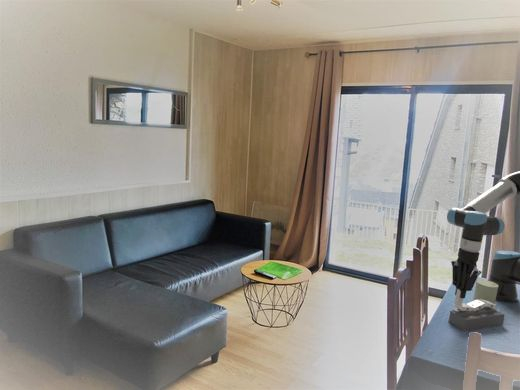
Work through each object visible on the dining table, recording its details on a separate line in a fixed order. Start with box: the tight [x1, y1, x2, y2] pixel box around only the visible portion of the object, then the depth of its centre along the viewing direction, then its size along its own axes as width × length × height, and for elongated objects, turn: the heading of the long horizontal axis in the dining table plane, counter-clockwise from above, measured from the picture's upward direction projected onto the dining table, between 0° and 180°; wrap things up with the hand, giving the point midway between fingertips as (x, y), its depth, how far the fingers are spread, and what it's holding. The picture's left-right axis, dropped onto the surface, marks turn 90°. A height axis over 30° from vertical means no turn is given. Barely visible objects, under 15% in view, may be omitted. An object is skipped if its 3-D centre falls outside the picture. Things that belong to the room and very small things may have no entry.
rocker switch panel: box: [448, 306, 505, 332], centre depth 174 cm, size 22×8×6 cm, turn 112°
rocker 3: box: [479, 299, 498, 310], centre depth 177 cm, size 6×4×2 cm
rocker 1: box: [453, 302, 473, 311], centre depth 172 cm, size 6×4×2 cm
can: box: [472, 279, 498, 305], centre depth 192 cm, size 9×9×12 cm
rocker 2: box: [466, 300, 485, 311], centre depth 175 cm, size 6×4×2 cm
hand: (458, 304), depth 171 cm, fingers closed
